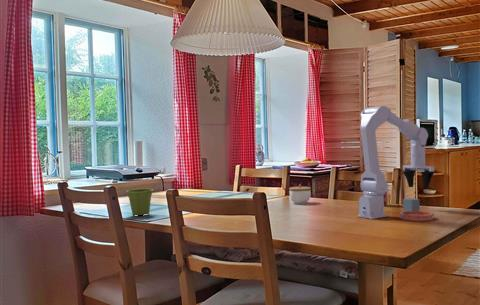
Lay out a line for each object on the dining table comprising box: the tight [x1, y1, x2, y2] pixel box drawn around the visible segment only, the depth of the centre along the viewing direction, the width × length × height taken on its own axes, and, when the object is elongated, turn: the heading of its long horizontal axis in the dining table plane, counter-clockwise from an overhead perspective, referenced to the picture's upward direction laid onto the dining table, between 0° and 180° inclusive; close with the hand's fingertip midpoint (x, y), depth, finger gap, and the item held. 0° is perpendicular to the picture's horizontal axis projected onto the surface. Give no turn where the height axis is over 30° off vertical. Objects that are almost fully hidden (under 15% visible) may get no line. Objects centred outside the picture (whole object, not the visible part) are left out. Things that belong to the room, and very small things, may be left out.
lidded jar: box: [288, 183, 312, 205], centre depth 231 cm, size 11×11×9 cm
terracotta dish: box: [399, 210, 434, 222], centre depth 180 cm, size 12×12×2 cm
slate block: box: [402, 197, 421, 212], centre depth 192 cm, size 4×4×6 cm
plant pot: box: [125, 188, 154, 216], centre depth 208 cm, size 12×12×11 cm
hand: (418, 187), depth 199 cm, fingers open, 7 cm apart
